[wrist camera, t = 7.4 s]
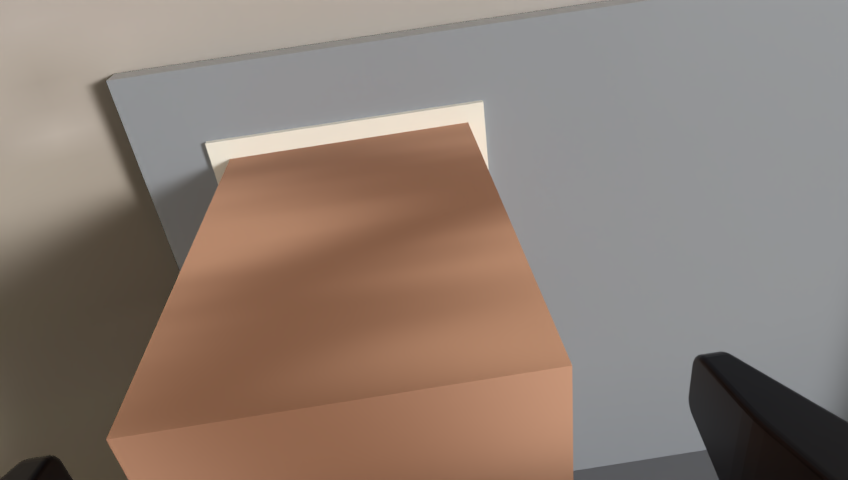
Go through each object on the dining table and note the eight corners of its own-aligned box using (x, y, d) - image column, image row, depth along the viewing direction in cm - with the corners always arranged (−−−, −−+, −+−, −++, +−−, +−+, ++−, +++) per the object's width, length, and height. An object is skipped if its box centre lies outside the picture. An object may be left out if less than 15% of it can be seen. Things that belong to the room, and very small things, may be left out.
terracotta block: (467, 122, 11) (581, 385, 5) (493, 385, 14) (581, 722, 8) (229, 159, 11) (95, 462, 5) (309, 415, 14) (277, 772, 8)
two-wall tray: (973, 424, 17) (1105, 544, 14) (288, 532, 16) (273, 678, 13) (1208, -89, 10) (1540, -71, 7) (114, 73, 10) (15, 156, 7)
